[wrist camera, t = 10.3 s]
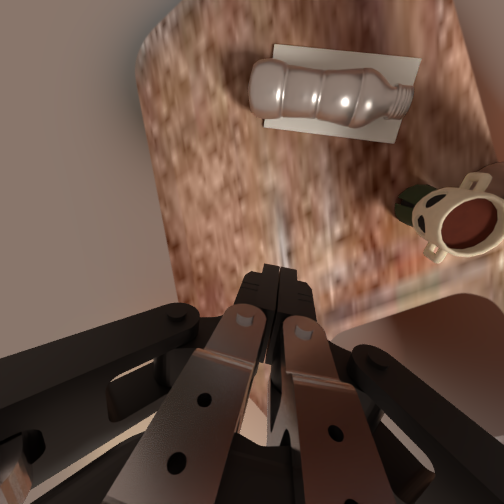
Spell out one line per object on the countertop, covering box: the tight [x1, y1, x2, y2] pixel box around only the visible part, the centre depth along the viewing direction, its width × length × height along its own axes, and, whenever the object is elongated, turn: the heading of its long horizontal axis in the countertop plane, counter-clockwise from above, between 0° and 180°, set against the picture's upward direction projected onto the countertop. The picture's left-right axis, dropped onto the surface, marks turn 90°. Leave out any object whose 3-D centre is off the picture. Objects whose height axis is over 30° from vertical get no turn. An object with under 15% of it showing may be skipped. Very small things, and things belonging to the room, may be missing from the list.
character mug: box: [395, 172, 504, 263], centre depth 32 cm, size 11×7×13 cm, turn 167°
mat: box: [264, 44, 422, 144], centre depth 34 cm, size 19×10×1 cm, turn 83°
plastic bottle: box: [248, 58, 414, 129], centre depth 31 cm, size 6×7×20 cm
